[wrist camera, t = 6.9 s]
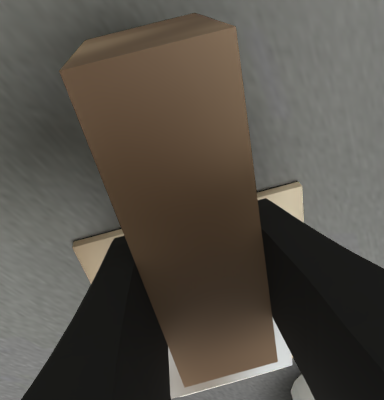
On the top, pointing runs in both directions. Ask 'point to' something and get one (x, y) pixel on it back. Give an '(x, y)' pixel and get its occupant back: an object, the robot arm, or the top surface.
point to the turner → (183, 190)
